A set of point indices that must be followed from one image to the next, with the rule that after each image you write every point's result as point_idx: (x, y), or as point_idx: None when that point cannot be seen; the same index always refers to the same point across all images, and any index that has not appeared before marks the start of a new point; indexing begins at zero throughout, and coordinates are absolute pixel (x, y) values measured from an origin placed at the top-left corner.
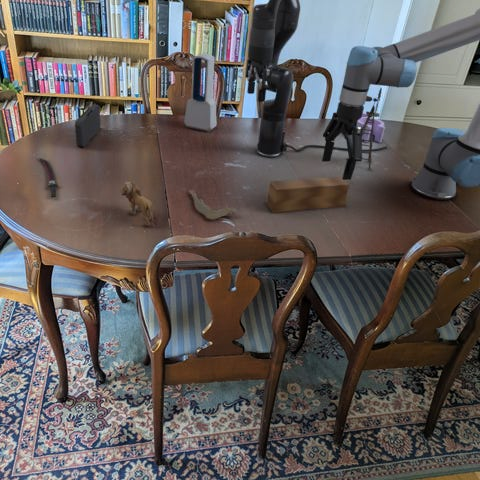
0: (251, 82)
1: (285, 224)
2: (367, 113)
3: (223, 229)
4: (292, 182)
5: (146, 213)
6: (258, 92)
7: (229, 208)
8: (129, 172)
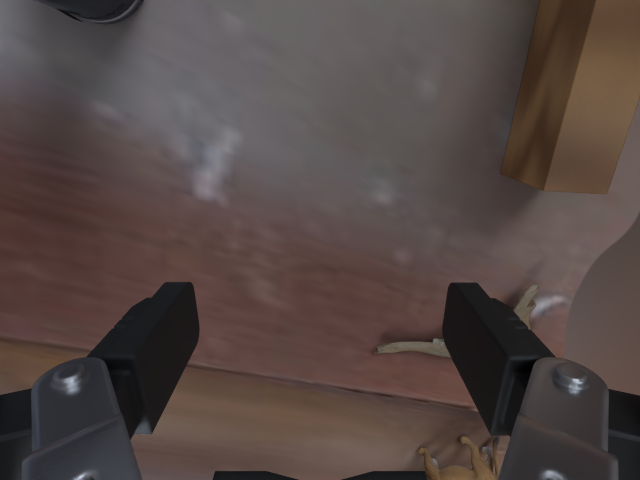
0: (146, 403)
1: (623, 169)
2: None
3: (564, 325)
4: (588, 103)
5: (492, 471)
6: (475, 402)
7: (521, 303)
8: (237, 436)
